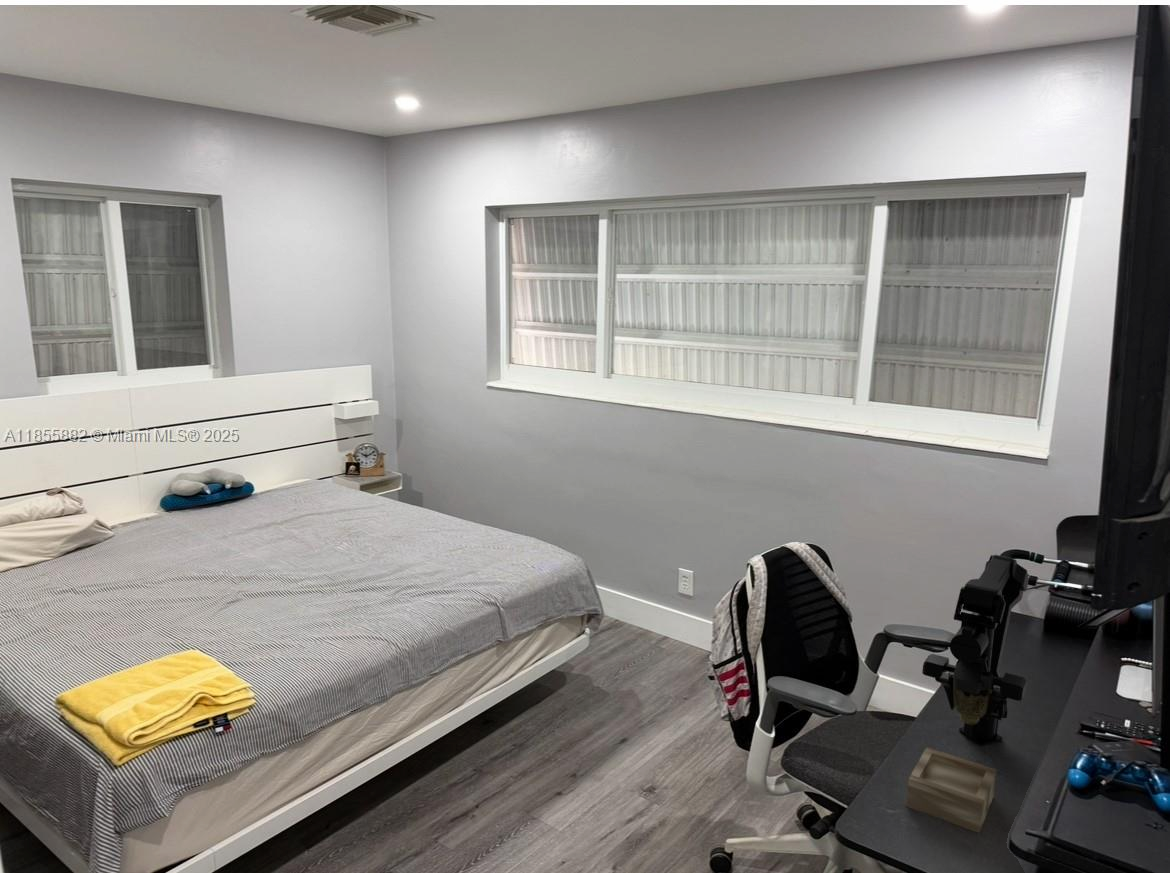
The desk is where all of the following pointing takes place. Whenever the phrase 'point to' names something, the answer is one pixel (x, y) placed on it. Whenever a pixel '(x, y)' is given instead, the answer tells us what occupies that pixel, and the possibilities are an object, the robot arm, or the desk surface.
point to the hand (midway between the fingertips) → (969, 714)
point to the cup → (971, 704)
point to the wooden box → (951, 789)
